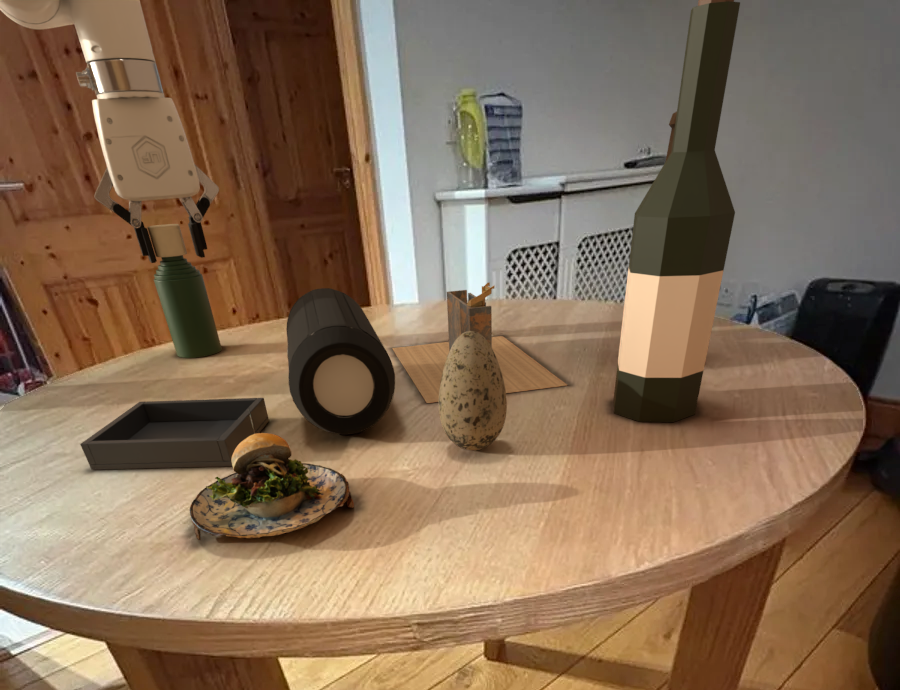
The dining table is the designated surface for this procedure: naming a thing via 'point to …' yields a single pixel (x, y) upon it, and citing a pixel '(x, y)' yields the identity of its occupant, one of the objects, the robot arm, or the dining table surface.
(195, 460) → the tray
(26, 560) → the dining table surface
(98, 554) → the dining table surface
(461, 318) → the architectural model on board
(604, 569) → the dining table surface
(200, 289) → the bottle
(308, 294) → the portable speaker
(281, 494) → the burger
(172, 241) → the cap
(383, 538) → the dining table surface
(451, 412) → the decorative egg
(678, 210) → the wine bottle
